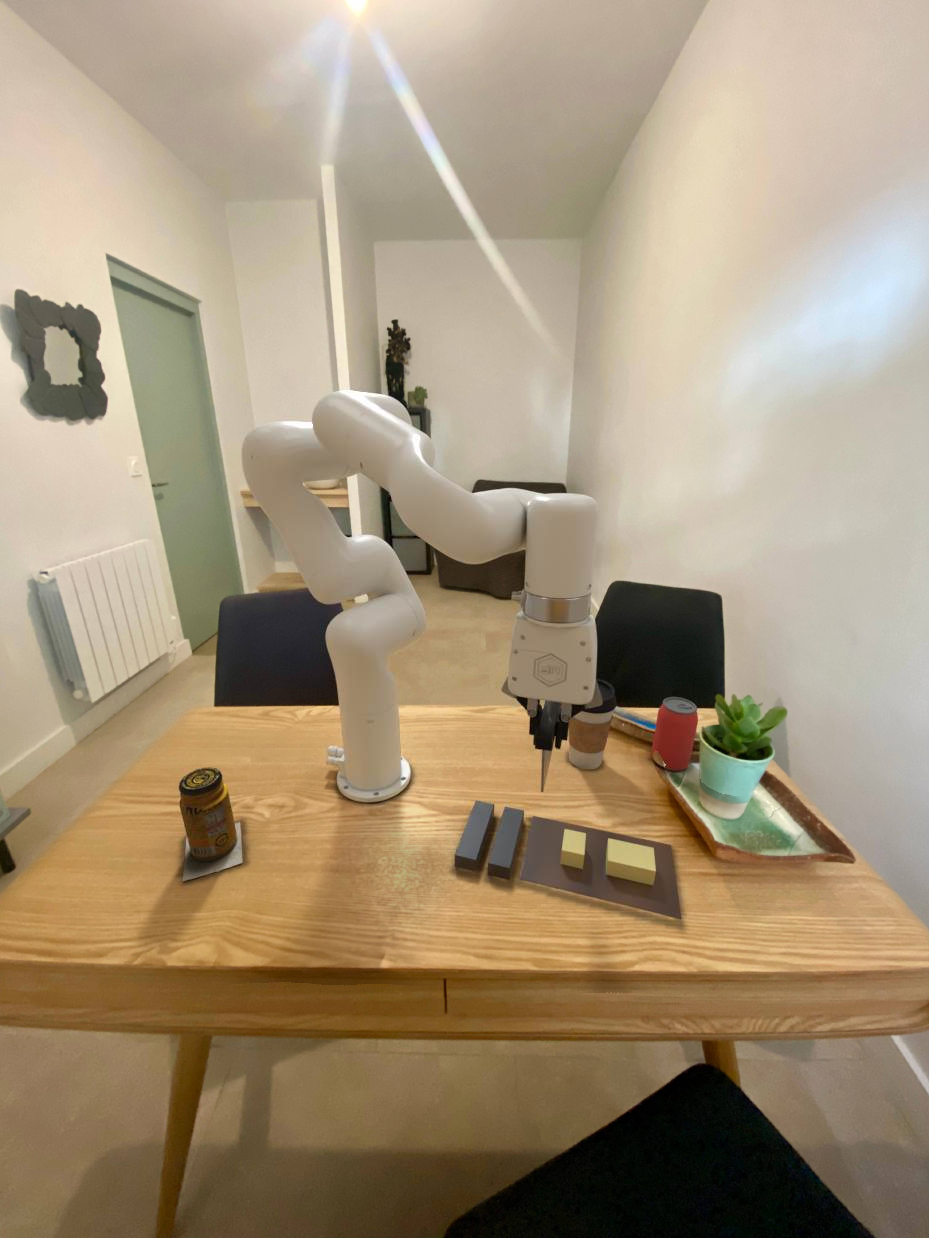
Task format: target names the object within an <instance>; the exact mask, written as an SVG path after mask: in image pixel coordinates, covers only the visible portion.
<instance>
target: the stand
mask: <svg viewBox="0 0 929 1238" xmlns="http://www.w3.org/2000/svg"><path fill="white" fill-rule="evenodd" d="M494 817H495V803H491V802H486V801H481V800H475V802H474V804H473V806H472V809H471V812H470V815H469V816H468V820H467V822H466V824H465V827H464V830H463V833H462V835H461V838H460V839H459V843H458V845H457V848H456V851H455V853H454V867H456V868H460V869H463V870H466V871H467V870H468V871H470V872H471V871H472V872H475V873H476V872H477V869H478V866H479V863H480V861H481V857H482V854H483V851H484V848H485V845H486V842H487V839H488V835H489V833H490V830H491V827H492V823H493V820H494ZM524 821H525V810H524V809H519V808H515V807H510V806H504V807H503V811H502V815H501V818H500V821H499V824H498V828H497V831H496V834H495V838H494V841H493V844H492V848H491V851H490V854H489V858H488V861H487V875H488V876H491V877H496V878H500V879H503V880H506V881H510V879H511V876H512V871H513V867H514V863H515V858H516V855H517V850H518V846H519V843H520V842H519V841H520V838H521V835H522V829H523V825H524Z"/></svg>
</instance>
